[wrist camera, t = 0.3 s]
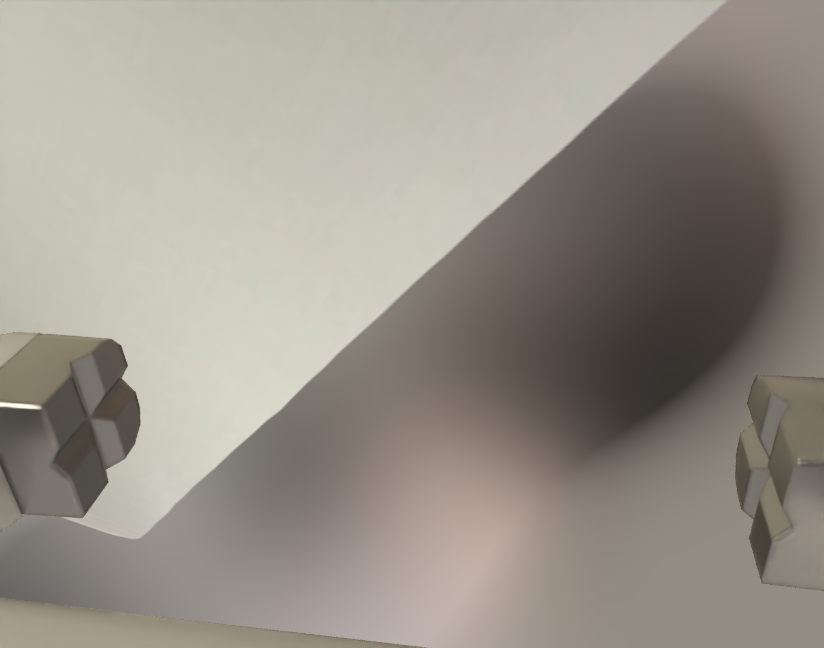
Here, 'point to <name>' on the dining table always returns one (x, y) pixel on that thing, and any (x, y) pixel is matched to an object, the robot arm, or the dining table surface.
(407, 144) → the dining table surface
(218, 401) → the dining table surface
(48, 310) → the dining table surface
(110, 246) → the dining table surface
